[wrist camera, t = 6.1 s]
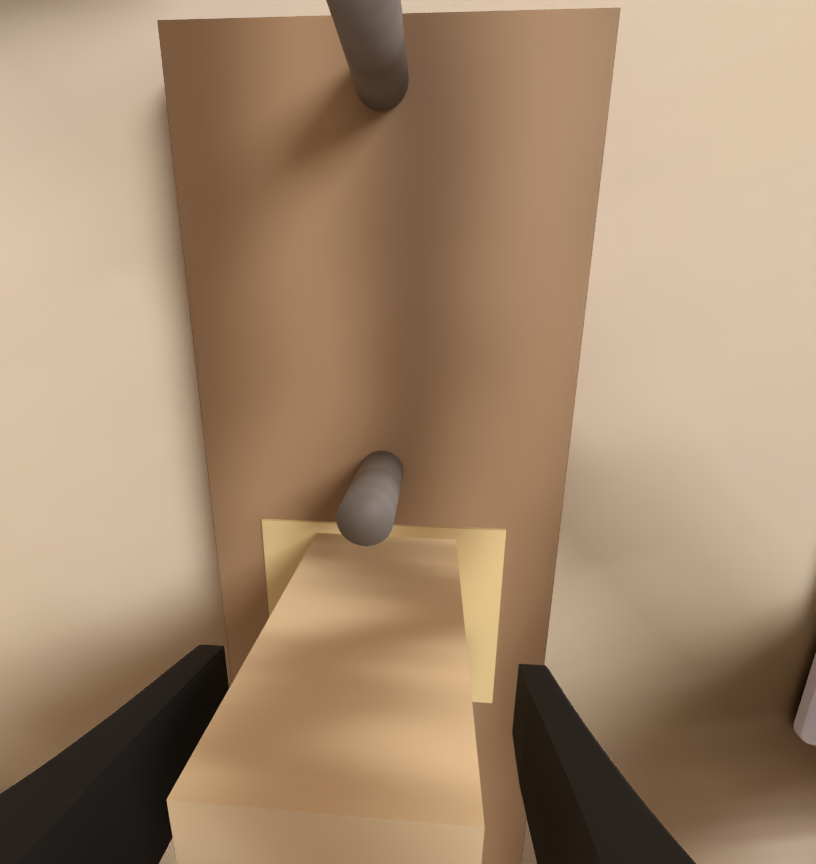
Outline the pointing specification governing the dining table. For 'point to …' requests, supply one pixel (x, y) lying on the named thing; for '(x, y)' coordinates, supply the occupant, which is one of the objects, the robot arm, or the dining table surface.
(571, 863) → the robot arm
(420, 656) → the light brown rectangular slab
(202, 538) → the dining table surface
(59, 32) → the dining table surface
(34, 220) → the dining table surface
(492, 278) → the peg board
